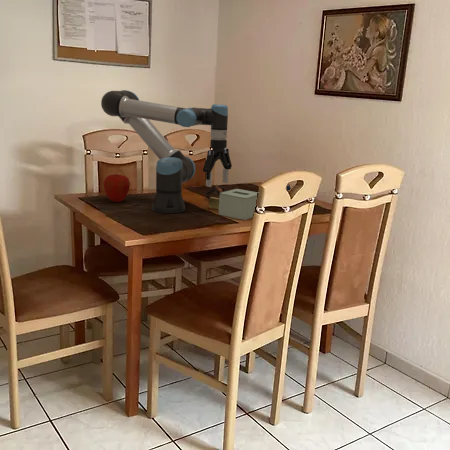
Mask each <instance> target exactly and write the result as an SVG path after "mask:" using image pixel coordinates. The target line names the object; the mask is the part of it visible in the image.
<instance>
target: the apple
mask: <svg viewBox="0 0 450 450" xmlns="http://www.w3.org/2000/svg"><path fill="white" fill-rule="evenodd" d="M130 186H131V182H130V180H129V178H128V177H127V176H125V175H123V174H122V175H121V174H118V173H117V172H115V174H110V175H109V174H108V175H107V176H106V177H105V178H104V180H103V189H104V192H105V194H106V197H107V199H109V200H110V201H111V202H114V203H122V202H123V201H124V200H125V199H126V197H127V195H128V194H129V191H130Z"/></svg>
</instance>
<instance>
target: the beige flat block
mask: <svg viewBox="0 0 450 450" xmlns="http://www.w3.org/2000/svg"><path fill="white" fill-rule="evenodd" d="M208 200H209V204H208V205H209V206H208V207H209V209H213V210H218V211H219V197H215V196H212V197H211V196H210V198H209V199H208Z"/></svg>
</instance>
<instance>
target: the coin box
mask: <svg viewBox="0 0 450 450" xmlns="http://www.w3.org/2000/svg"><path fill="white" fill-rule="evenodd" d="M257 193H259V192H257V191H252V190H251V191H250V190H246V189H240V188H234V189H230V190H225V192H222V193H220V197H219V196H218V198H219V210H218V215H219V216H224V217H229V218H234V219H237V220H243V221H247V220H250V219H252V218H254V217H253V214H254V211H255V207H256V199H257Z"/></svg>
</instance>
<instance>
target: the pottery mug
mask: <svg viewBox="0 0 450 450" xmlns="http://www.w3.org/2000/svg"><path fill="white" fill-rule="evenodd" d="M222 192H226V189H225V187H223V186H220V187H219V186H218V185H215V186H213V187H210V188H209V189H207V191H205V193H204V194H205V198H207V199H208V200H209V198H210V197H213V196H212V195H213V194H214V195H218V198H219V197H220V193H222Z"/></svg>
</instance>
